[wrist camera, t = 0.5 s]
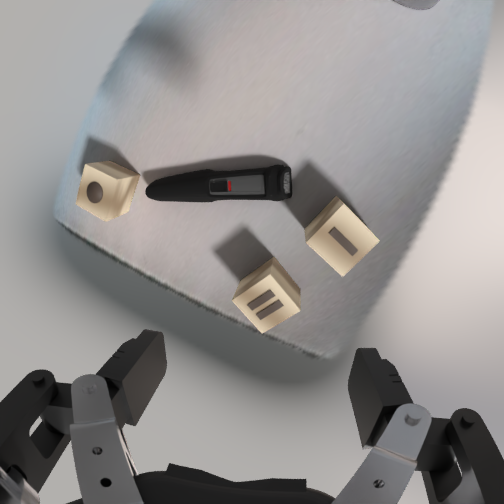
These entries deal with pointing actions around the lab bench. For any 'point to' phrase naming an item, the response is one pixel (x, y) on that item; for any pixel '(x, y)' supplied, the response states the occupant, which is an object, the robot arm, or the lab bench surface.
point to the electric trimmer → (224, 185)
